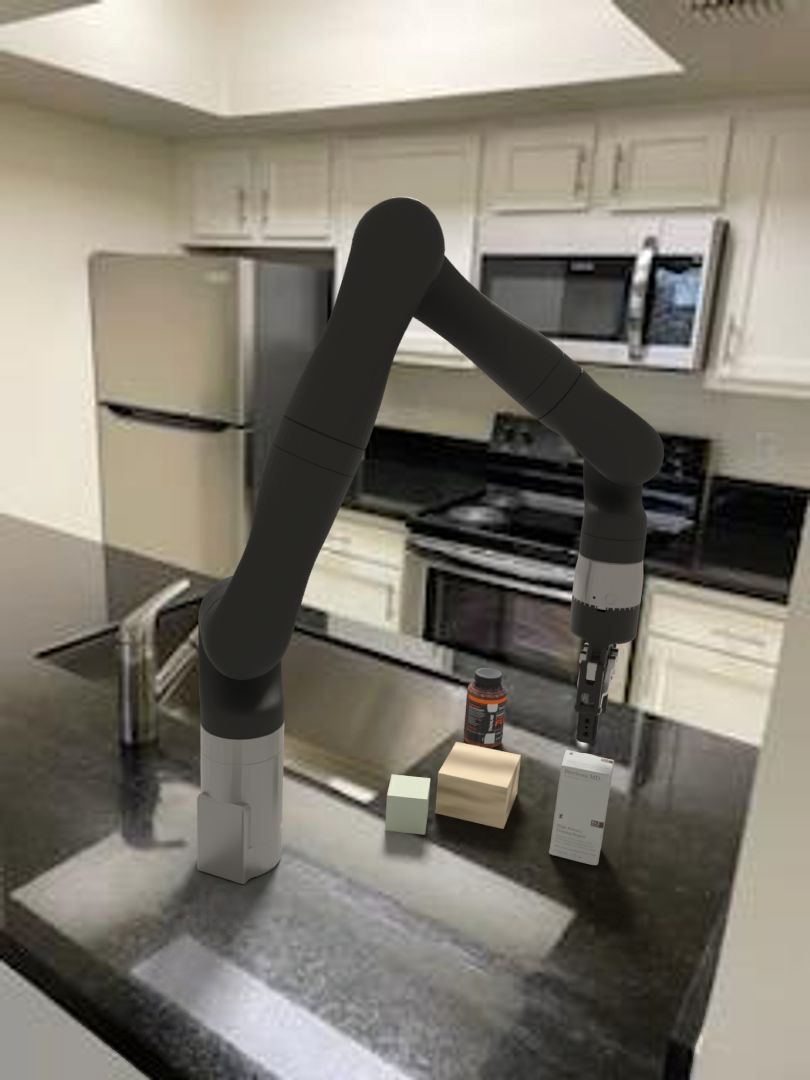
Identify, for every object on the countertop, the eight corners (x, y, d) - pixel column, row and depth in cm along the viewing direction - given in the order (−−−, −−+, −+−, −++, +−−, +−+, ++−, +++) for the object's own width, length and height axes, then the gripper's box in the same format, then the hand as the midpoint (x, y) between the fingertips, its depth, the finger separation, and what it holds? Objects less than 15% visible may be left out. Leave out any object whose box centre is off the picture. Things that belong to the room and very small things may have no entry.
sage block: (424, 835, 104) (427, 799, 103) (385, 830, 104) (387, 795, 103) (427, 812, 109) (430, 778, 108) (389, 808, 109) (391, 774, 108)
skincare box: (548, 855, 101) (558, 765, 98) (553, 835, 105) (563, 748, 102) (600, 867, 100) (612, 776, 96) (603, 846, 104) (614, 758, 101)
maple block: (503, 830, 106) (507, 787, 105) (435, 814, 109) (438, 772, 107) (516, 794, 115) (520, 755, 113) (453, 780, 117) (456, 741, 116)
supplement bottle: (500, 753, 125) (506, 683, 122) (460, 747, 126) (466, 677, 123) (503, 735, 131) (509, 667, 128) (465, 729, 132) (471, 662, 129)
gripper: (583, 573, 102) (569, 696, 106) (561, 607, 89) (547, 745, 93) (646, 582, 100) (630, 707, 104) (634, 619, 87) (616, 760, 91)
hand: (591, 725), depth 98 cm, fingers open, 8 cm apart
